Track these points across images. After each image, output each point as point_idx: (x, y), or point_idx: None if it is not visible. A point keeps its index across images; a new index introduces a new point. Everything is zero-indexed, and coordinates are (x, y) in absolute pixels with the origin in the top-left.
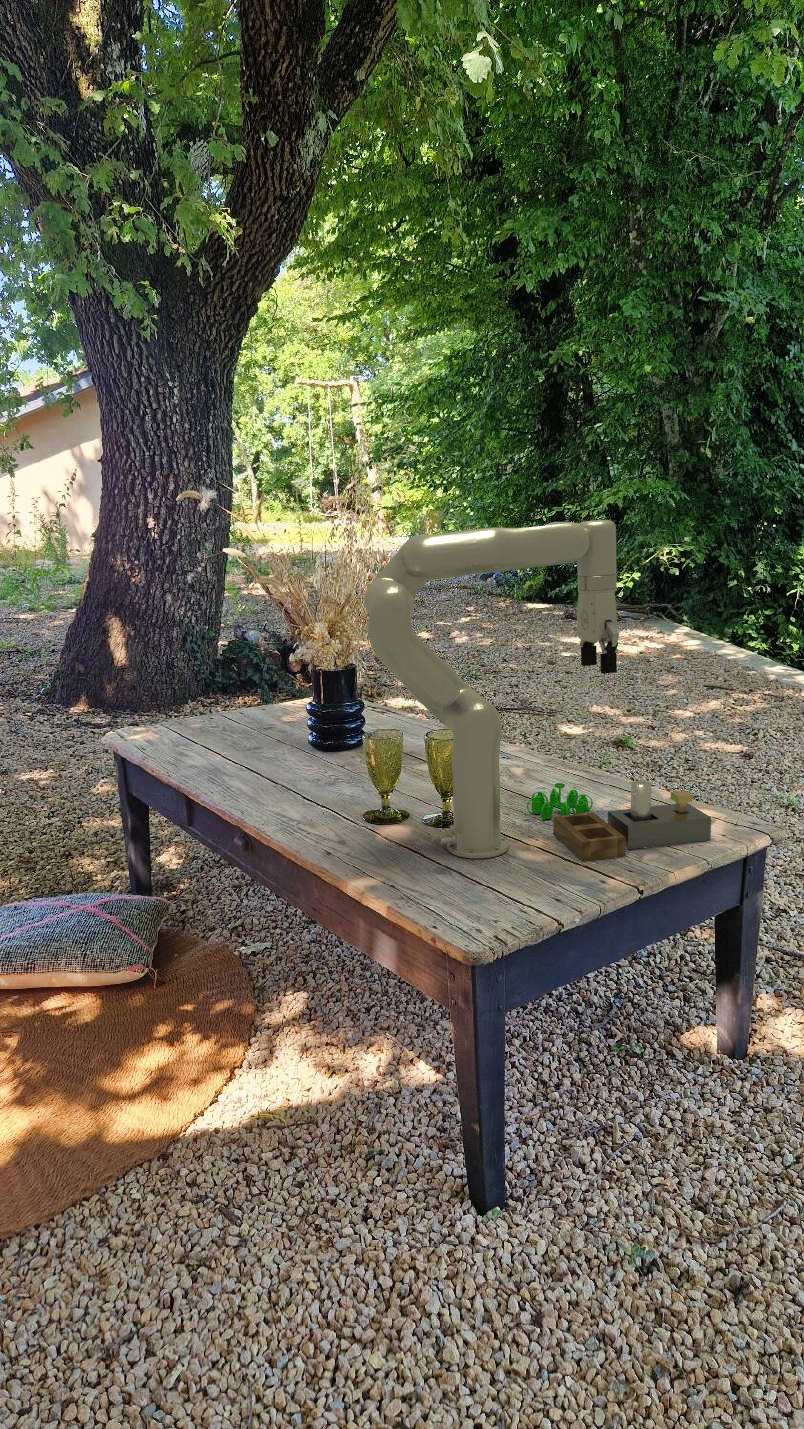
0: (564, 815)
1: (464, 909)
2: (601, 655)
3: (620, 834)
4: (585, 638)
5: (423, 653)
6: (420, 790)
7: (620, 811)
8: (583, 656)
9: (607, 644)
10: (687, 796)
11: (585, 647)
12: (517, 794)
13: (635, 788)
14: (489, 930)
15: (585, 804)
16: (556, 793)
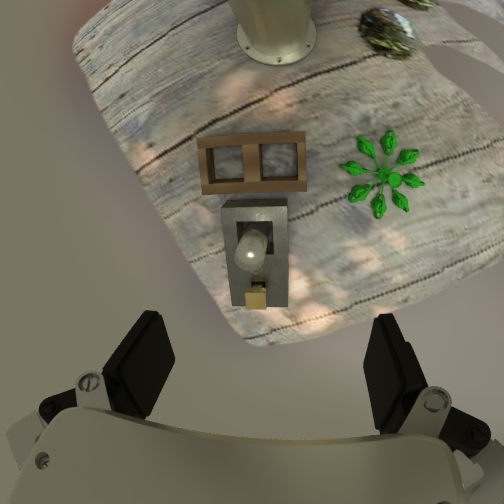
0: (304, 148)
1: (125, 21)
2: (106, 363)
3: (213, 192)
4: (213, 452)
5: None
6: (486, 60)
7: (280, 221)
8: (386, 350)
9: (52, 405)
10: (246, 302)
11: (399, 398)
12: (456, 154)
13: (241, 244)
14: (90, 44)
15: (354, 199)
16: (408, 181)
